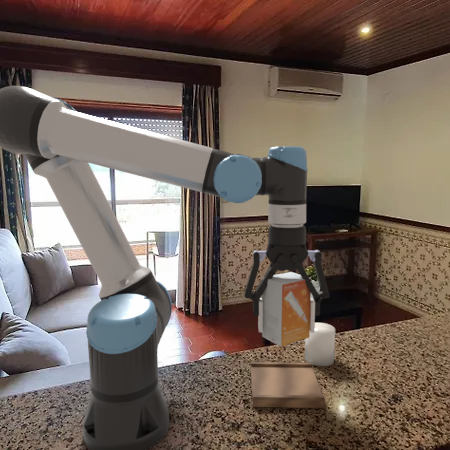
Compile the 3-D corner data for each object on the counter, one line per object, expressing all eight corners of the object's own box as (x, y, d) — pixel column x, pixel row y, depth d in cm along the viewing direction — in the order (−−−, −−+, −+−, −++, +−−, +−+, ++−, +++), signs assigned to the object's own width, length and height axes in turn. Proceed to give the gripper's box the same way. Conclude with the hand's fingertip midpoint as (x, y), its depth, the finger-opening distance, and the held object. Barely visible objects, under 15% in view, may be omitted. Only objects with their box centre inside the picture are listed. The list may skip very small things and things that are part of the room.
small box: (281, 348, 78) (281, 284, 76) (261, 336, 83) (261, 277, 81) (310, 337, 82) (311, 277, 80) (289, 327, 87) (290, 271, 85)
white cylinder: (307, 366, 93) (308, 334, 92) (301, 348, 102) (302, 318, 101) (337, 366, 93) (338, 334, 92) (328, 348, 102) (329, 319, 101)
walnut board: (252, 406, 77) (252, 396, 77) (250, 370, 91) (250, 362, 91) (324, 407, 77) (324, 398, 77) (311, 371, 91) (311, 362, 90)
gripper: (230, 227, 76) (231, 337, 79) (348, 227, 75) (345, 337, 78) (231, 222, 83) (232, 322, 86) (338, 221, 82) (335, 322, 85)
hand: (285, 329), depth 82 cm, fingers closed on small box, 10 cm apart
